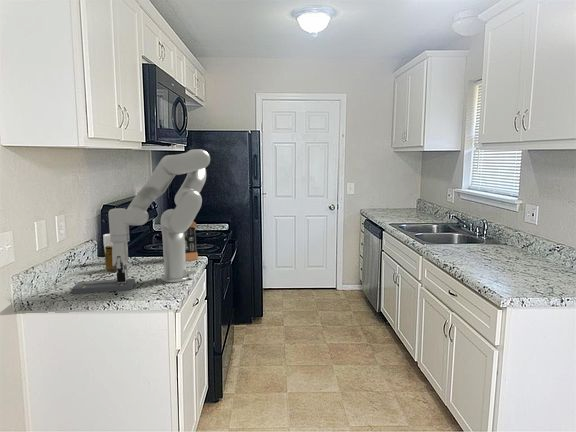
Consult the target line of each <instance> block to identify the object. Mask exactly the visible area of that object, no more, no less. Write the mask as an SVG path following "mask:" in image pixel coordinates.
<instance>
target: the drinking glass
mask: <svg viewBox="0 0 576 432" xmlns="http://www.w3.org/2000/svg"><path fill="white" fill-rule="evenodd" d="M102 238H103V239H102V240H103V241H102V242H103V250H104V253H105V252H106V251H105V247H106V246H111V245H112V243H111V242H110V233H105V234H103V235H102Z"/></svg>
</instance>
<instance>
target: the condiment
mask: <svg viewBox="0 0 576 432" xmlns="http://www.w3.org/2000/svg"><path fill="white" fill-rule="evenodd" d="M105 251H106V252H105ZM104 262H105V270H103V273H115V272H116V273H117V264H116V265H115V266H113V265H112V245H111V246H106V247H105V249H104Z"/></svg>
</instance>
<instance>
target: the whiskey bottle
mask: <svg viewBox="0 0 576 432" xmlns="http://www.w3.org/2000/svg"><path fill="white" fill-rule="evenodd" d="M196 228H197V222H195V221H194V220H193V222H192V224H191V225H190V227H189V228H188V229H187V230H186V231H185V232H184V237H185V260H186V261H196V260H199V254H198V251H197V236H196V235H197V234H196Z"/></svg>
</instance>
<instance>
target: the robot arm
mask: <svg viewBox="0 0 576 432" xmlns="http://www.w3.org/2000/svg"><path fill="white" fill-rule="evenodd" d="M210 162H211V155H210V153H208V151H206V150H204V149H201V148H200V149H194V148H193V149H190V150H187V152H183V153H177V154H168V155H167V154H166V155H165V156H163V157H162V158H161V159H160V161H159V162H158V164H157V165H156V167H155V169H154V170H153V171H152V174H151V175H150V176H149V177H148V179H147V180H146V182H145V184H144V185H143V186H142V187H141V188H140V189H139V191H138V192H137V194H135V195H134V197H133V198H132V200H131V202H130V203H129V205H128V207H127V208H124V207H123V208H121V207H119V208H111V209H109V210H108V225H109V226H108V227H109V234H110V242H111V243H112V265H113V266H115V265H116V264H117V272H116V279H117V282H125V281H126V280H125V272H124V269H126V268H127V269H128V267H127V266H128V265H127V263H128V262H129V249H128V248H129V247H128V242H130V241H131V240H130V226H143V225H145V224H147V222H148V221H149V216H150V215H149V212H148V211H147V210H148V208H149V207H150V205H152V203H153V202H154V201H155V200H156V199H158V198H160V197H161V196H162V195H164V193H166V191H167V189H168V188H169V186H170V185H171V183H172V181H173V179H174V178H175V177H176V176H180V175H184V174H186V177H185V179H184V181H183V183H182V184H181V186H180V188H179V189H178V190H177V192H176V194H175V196H174V203H175V207H174V208H170V209H167V210H165V211H164V212H163V213H162V214H161V217H160V228H161V235H162V251H163V253H162V254H163V273H164V274H163V275H161V276H160V280H161V282H165V283H179V282H184V281H187V280H189V279H190V277H191V276H190V275H196V274H197V270H196V269H193V268H191V269H189V268H188V267H187V265H186V260H185V237H184V232H185V231H186V230H187V229H188V228H189V227H190V225H191V224H192V222H193V221H194V220H195V219H196V217H197V215H198V213H199V211H200V209H201V208H202V203H203V198H202V195H201V192H202V190H203V187H204V185H205V183H206V181H207V169H206V168H207V167H208V166H209V165H210ZM127 279H129V277H128V274H127Z"/></svg>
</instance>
